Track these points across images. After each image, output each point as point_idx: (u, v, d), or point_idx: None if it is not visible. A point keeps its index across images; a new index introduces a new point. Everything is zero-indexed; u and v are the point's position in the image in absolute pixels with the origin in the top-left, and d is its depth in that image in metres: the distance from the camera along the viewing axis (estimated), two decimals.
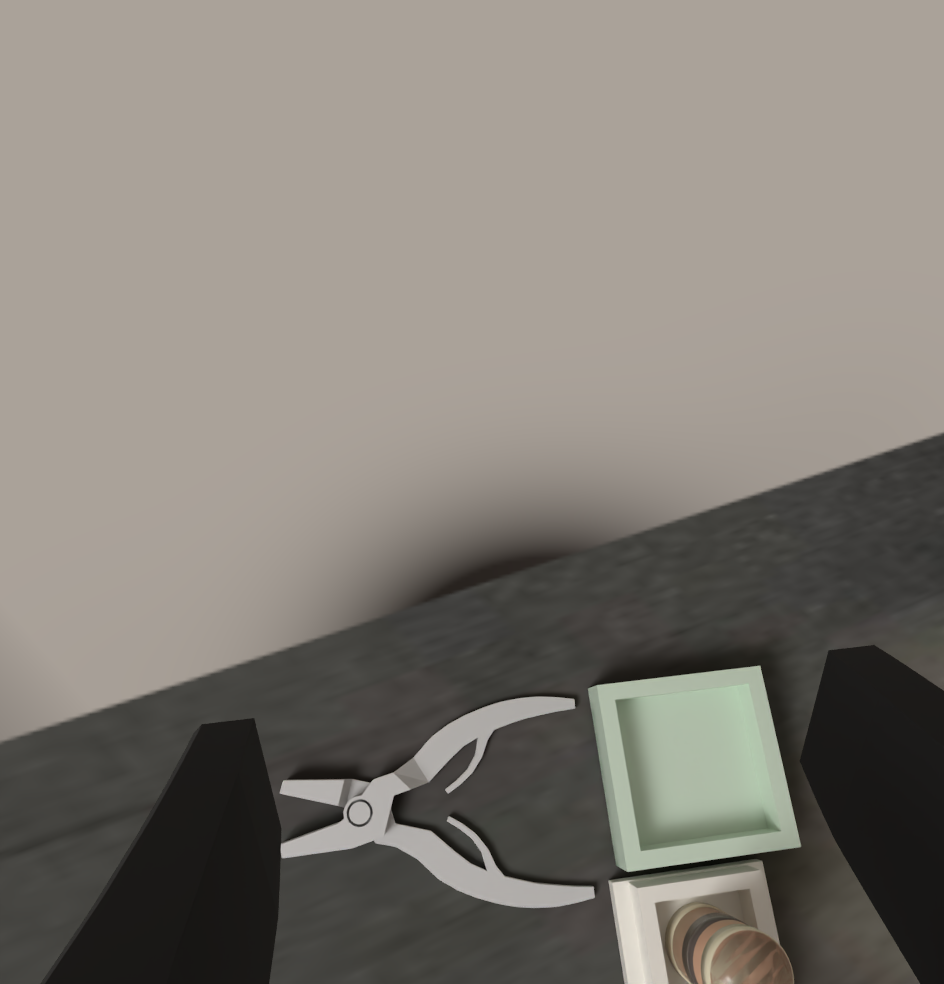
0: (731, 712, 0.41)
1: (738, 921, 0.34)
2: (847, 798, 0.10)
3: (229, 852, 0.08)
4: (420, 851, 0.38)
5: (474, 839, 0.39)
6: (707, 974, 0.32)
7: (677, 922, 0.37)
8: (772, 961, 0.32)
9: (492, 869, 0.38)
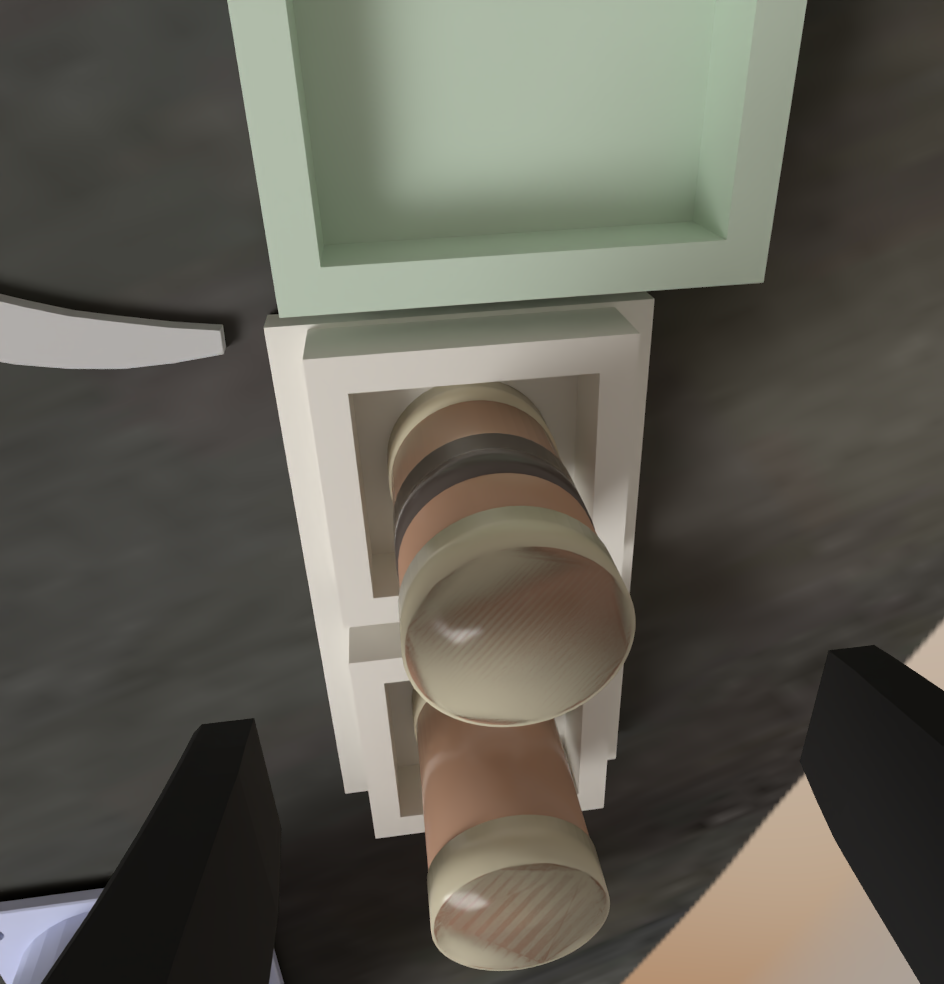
0: None
1: (534, 480, 0.12)
2: (847, 798, 0.10)
3: (229, 852, 0.08)
4: None
5: None
6: (401, 632, 0.11)
7: (410, 427, 0.15)
8: (587, 611, 0.11)
9: None
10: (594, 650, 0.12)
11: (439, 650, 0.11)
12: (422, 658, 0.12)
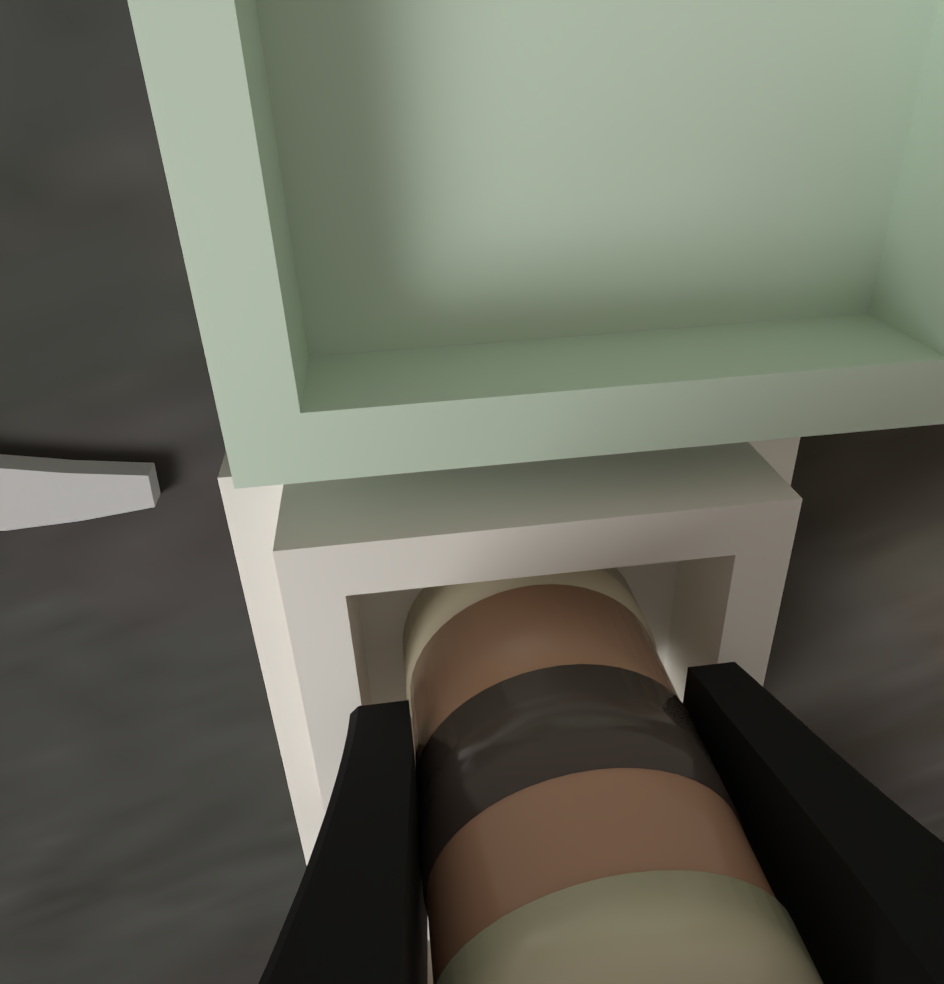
0: None
1: (659, 783, 0.07)
2: None
3: (413, 828, 0.08)
4: None
5: None
6: None
7: (440, 622, 0.10)
8: None
9: None
10: None
11: None
12: None
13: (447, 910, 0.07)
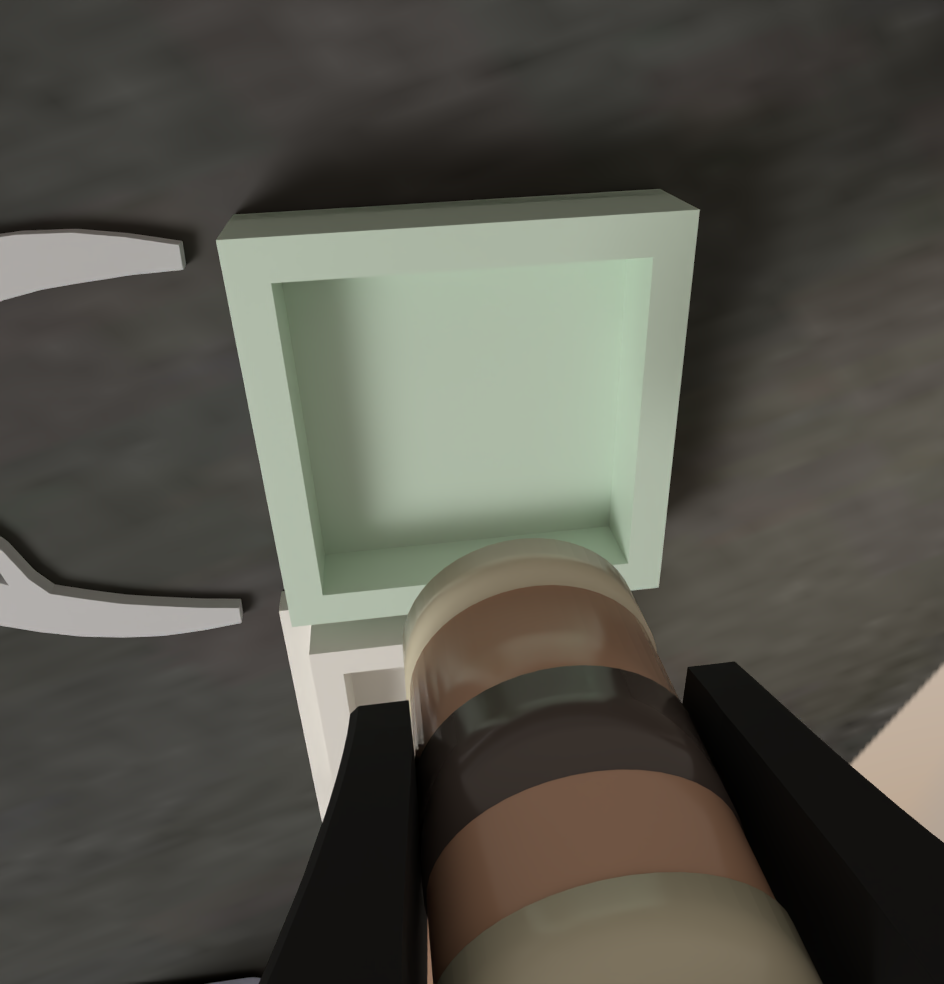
0: (596, 302, 0.17)
1: (660, 784, 0.07)
2: None
3: (412, 828, 0.08)
4: None
5: None
6: None
7: (440, 623, 0.10)
8: None
9: (20, 582, 0.19)
10: None
11: None
12: None
13: (447, 911, 0.07)
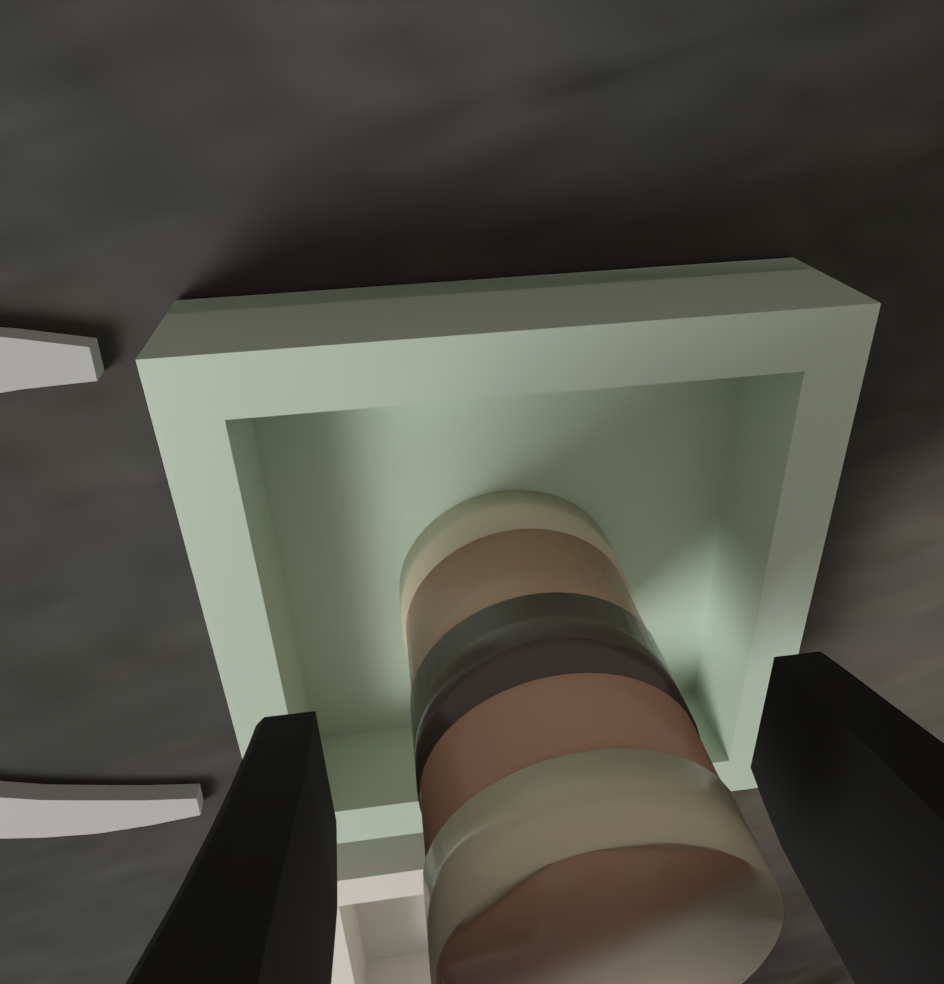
0: (698, 416, 0.12)
1: (622, 685, 0.09)
2: (792, 805, 0.10)
3: (302, 842, 0.08)
4: None
5: None
6: (430, 946, 0.07)
7: (433, 564, 0.11)
8: (714, 914, 0.07)
9: None
10: (718, 957, 0.08)
11: (488, 972, 0.08)
12: (462, 983, 0.08)
13: (437, 794, 0.08)
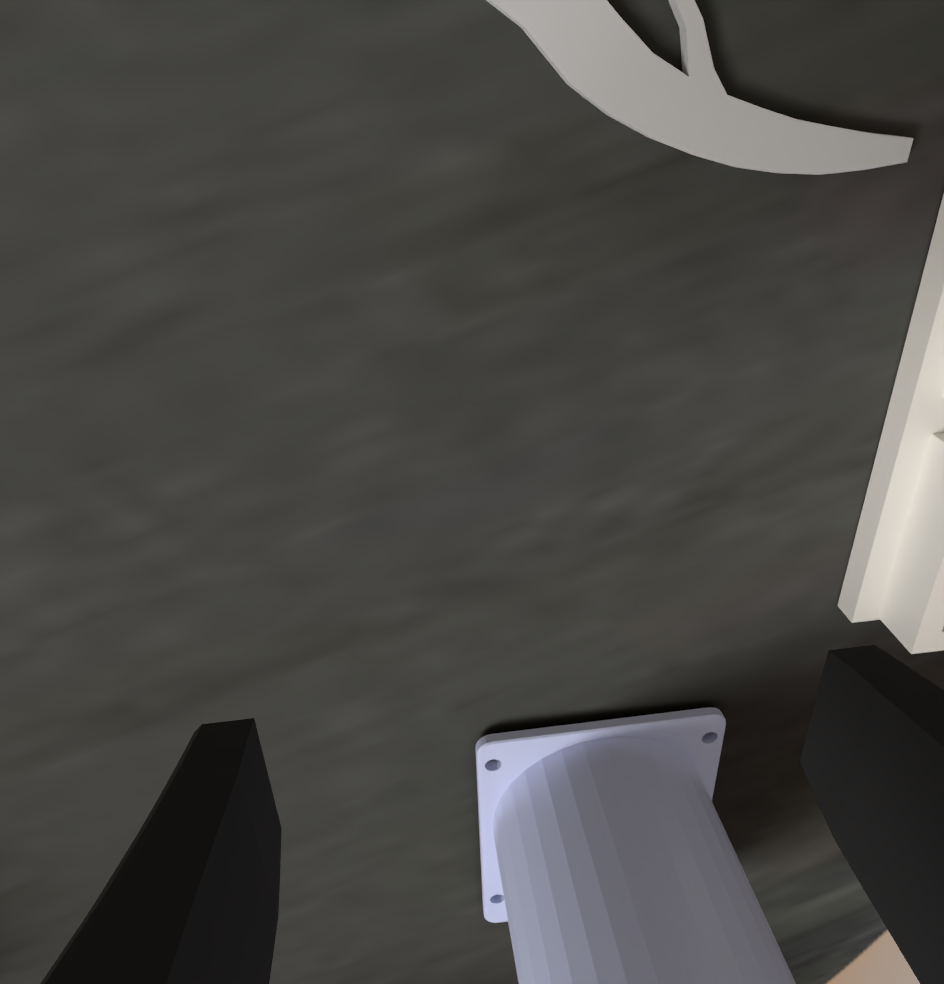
0: None
1: None
2: (846, 798, 0.10)
3: (229, 852, 0.08)
4: (534, 6, 0.15)
5: None
6: None
7: None
8: None
9: (702, 74, 0.16)
10: None
11: None
12: None
13: None
